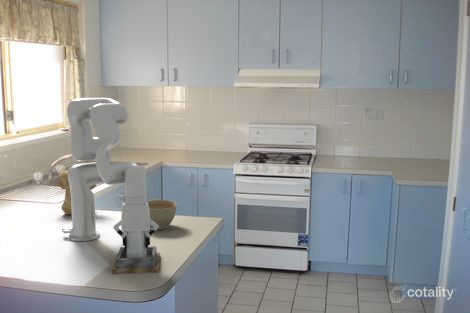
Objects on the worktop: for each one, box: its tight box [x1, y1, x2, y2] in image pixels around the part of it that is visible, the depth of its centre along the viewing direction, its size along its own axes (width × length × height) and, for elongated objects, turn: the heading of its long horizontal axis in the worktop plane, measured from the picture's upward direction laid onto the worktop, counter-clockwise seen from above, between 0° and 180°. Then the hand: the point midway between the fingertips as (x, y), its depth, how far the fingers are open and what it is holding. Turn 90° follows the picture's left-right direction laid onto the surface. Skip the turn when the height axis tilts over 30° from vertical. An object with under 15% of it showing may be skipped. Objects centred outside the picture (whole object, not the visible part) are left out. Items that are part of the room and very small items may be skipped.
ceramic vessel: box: [57, 169, 98, 216], centre depth 254 cm, size 17×20×25 cm
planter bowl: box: [146, 199, 178, 231], centre depth 231 cm, size 16×16×11 cm
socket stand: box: [111, 245, 161, 275], centre depth 186 cm, size 16×16×4 cm
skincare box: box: [126, 229, 147, 258], centre depth 185 cm, size 6×4×12 cm
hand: (136, 246), depth 186 cm, fingers closed on skincare box, 7 cm apart
